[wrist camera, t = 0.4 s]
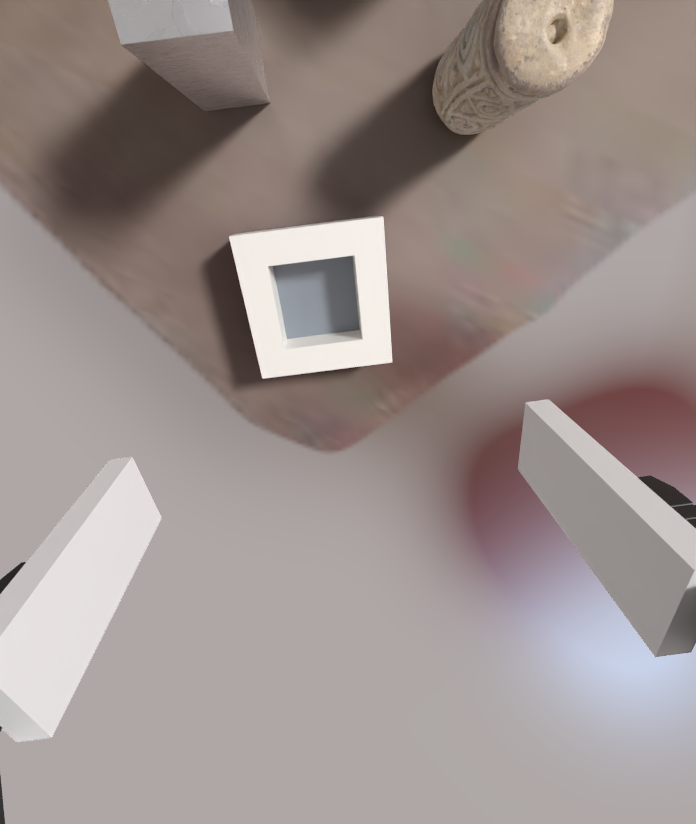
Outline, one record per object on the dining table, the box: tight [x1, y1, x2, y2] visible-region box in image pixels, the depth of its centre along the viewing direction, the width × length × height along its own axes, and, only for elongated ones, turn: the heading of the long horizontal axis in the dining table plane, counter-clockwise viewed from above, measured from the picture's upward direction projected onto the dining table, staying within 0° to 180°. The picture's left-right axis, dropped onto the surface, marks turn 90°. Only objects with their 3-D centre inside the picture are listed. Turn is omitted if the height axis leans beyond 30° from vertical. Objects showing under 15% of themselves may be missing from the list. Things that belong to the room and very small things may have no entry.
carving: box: [432, 0, 614, 135], centre depth 25 cm, size 6×8×12 cm
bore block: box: [229, 216, 392, 379], centre depth 35 cm, size 12×12×4 cm
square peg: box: [108, 0, 270, 111], centre depth 22 cm, size 5×5×14 cm
